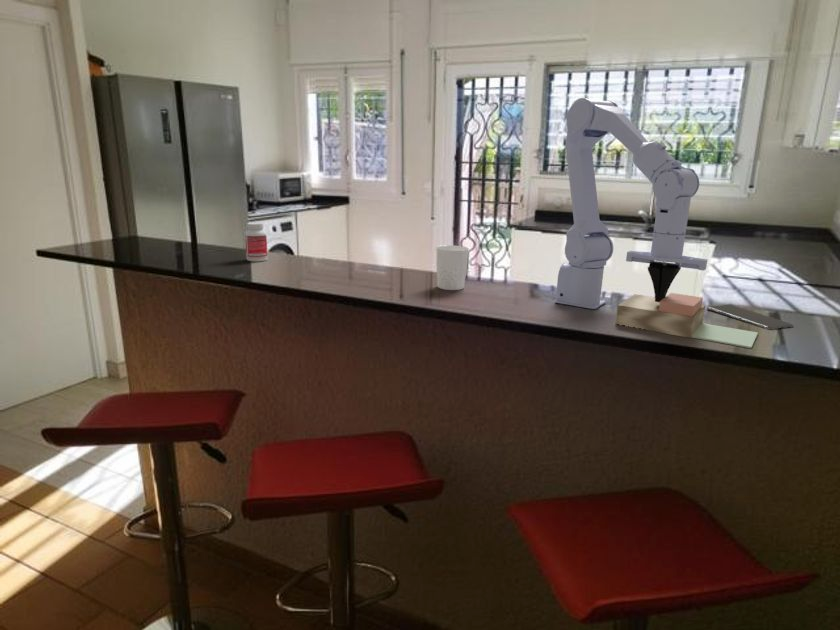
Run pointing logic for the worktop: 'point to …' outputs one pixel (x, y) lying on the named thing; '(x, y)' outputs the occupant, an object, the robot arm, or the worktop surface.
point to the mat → (725, 335)
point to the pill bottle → (256, 242)
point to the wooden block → (656, 317)
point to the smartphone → (749, 316)
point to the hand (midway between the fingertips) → (659, 301)
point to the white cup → (451, 267)
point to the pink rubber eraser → (680, 304)
